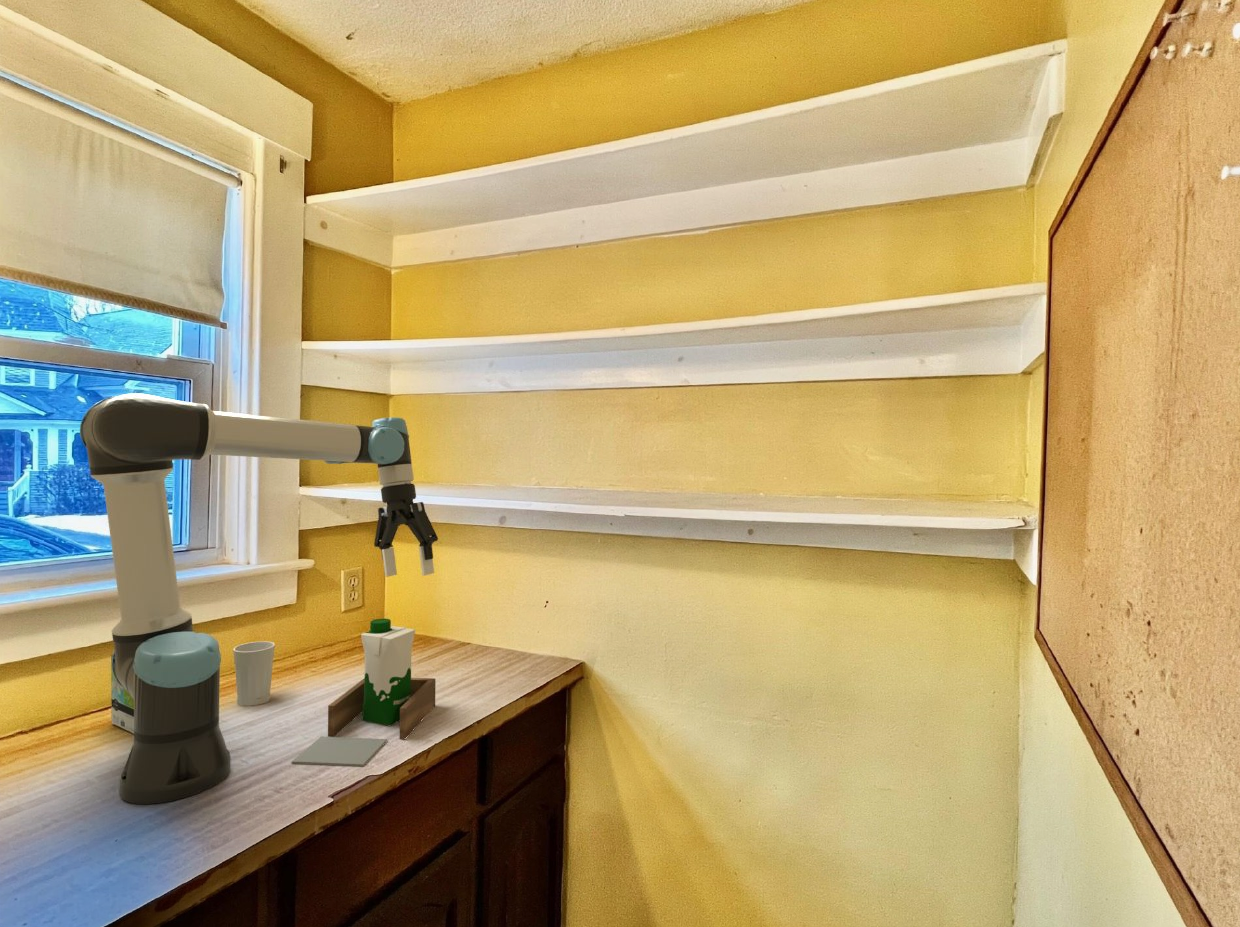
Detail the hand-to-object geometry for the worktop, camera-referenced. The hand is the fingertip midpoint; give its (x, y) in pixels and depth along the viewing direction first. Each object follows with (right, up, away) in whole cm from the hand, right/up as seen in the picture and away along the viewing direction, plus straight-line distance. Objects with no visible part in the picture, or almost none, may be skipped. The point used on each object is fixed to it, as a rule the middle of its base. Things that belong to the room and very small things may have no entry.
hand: (409, 575), depth 146 cm
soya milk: (0, -27, -14) cm, 31 cm away
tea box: (-44, -27, -19) cm, 55 cm away
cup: (-32, -27, -6) cm, 43 cm away
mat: (-3, -27, -30) cm, 41 cm away
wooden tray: (0, -27, -16) cm, 31 cm away
